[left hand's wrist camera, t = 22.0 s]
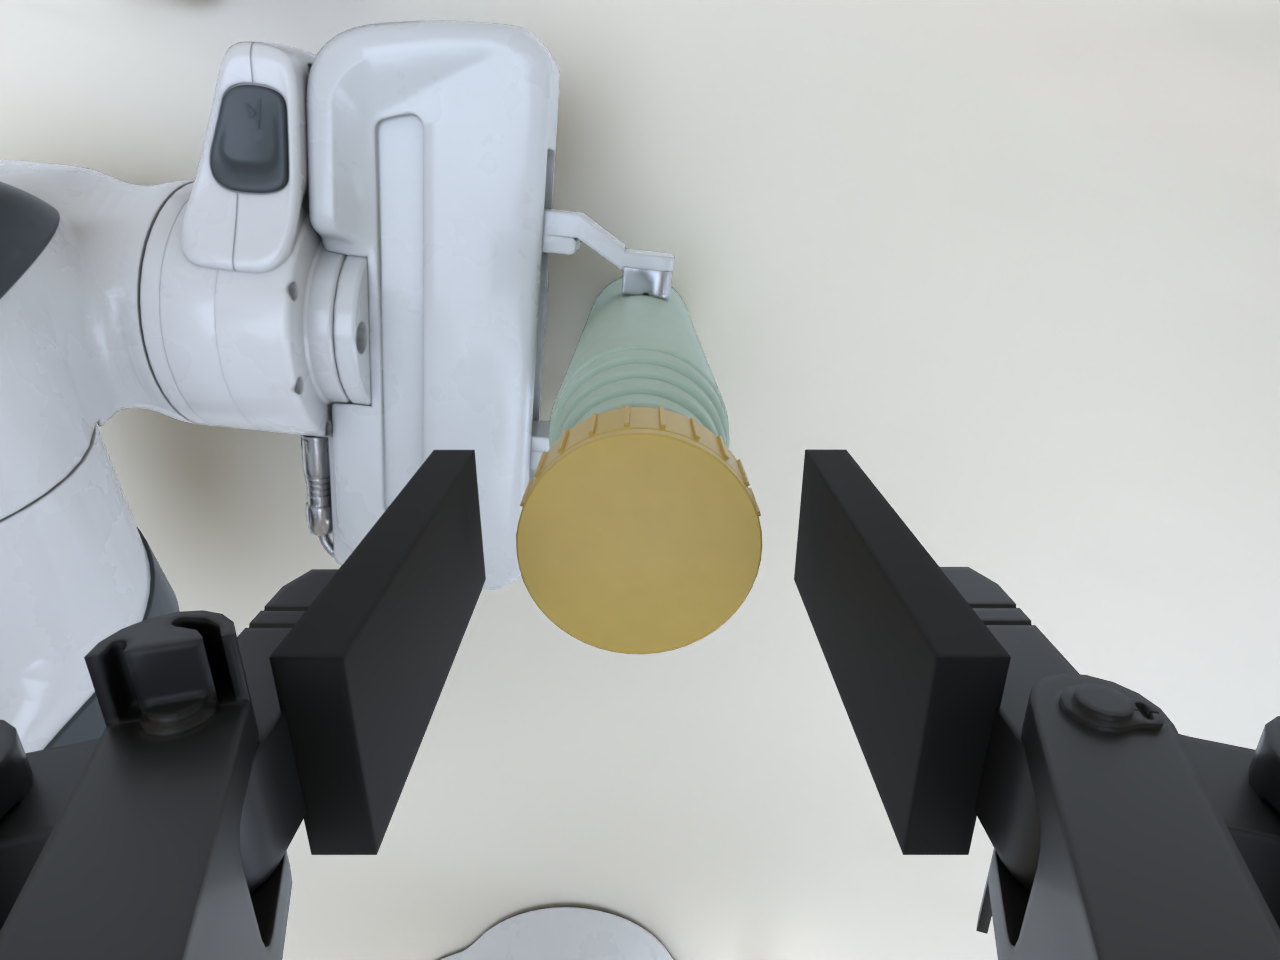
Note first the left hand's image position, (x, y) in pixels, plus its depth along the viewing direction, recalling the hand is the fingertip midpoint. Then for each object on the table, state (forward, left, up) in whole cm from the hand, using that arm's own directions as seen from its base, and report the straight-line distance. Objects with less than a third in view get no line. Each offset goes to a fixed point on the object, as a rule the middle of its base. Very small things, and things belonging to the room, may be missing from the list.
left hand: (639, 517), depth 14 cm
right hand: (-1, 0, -15) cm, 15 cm away
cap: (0, 0, +1) cm, 1 cm away
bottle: (0, 0, -21) cm, 21 cm away
